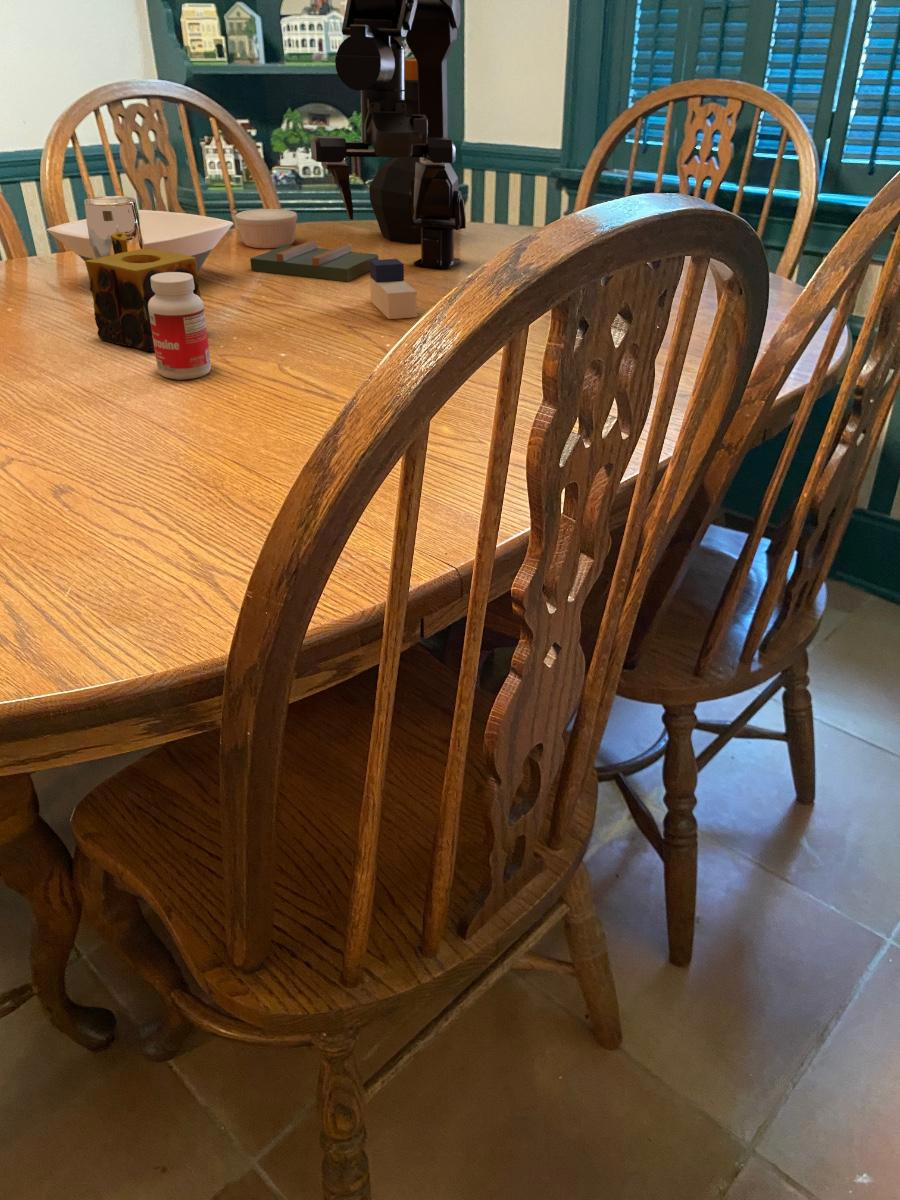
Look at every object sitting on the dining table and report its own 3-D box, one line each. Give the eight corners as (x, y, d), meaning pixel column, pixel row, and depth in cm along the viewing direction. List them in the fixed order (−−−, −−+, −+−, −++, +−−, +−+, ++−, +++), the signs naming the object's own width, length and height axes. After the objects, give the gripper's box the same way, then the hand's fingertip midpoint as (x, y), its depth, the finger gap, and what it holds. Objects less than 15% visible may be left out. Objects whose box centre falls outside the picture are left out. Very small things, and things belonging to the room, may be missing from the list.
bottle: (409, 249, 168) (408, 61, 152) (356, 235, 178) (349, 58, 162) (472, 238, 177) (476, 60, 161) (417, 225, 187) (416, 57, 171)
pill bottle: (148, 372, 108) (132, 276, 102) (190, 360, 112) (177, 267, 106) (179, 384, 104) (164, 286, 98) (222, 372, 108) (211, 276, 102)
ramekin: (228, 247, 166) (225, 217, 164) (252, 236, 176) (250, 207, 173) (285, 251, 165) (283, 220, 162) (307, 239, 174) (305, 210, 171)
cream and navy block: (370, 301, 136) (369, 260, 133) (397, 299, 138) (397, 258, 134) (388, 319, 128) (387, 275, 125) (416, 317, 130) (416, 273, 126)
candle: (150, 354, 113) (136, 271, 108) (96, 340, 118) (80, 260, 112) (209, 334, 121) (199, 256, 115) (155, 322, 125) (143, 246, 120)
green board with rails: (287, 256, 161) (285, 237, 160) (378, 266, 156) (378, 247, 154) (251, 270, 152) (249, 250, 150) (347, 281, 146) (346, 261, 145)
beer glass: (140, 322, 125) (120, 205, 117) (94, 318, 126) (71, 202, 118) (163, 309, 131) (146, 197, 123) (119, 305, 132) (99, 194, 124)
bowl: (44, 287, 140) (31, 229, 136) (149, 259, 157) (141, 207, 153) (152, 306, 132) (142, 245, 127) (251, 275, 149) (245, 220, 144)
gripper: (319, 89, 108) (325, 228, 116) (468, 93, 113) (464, 227, 121) (307, 87, 118) (313, 216, 126) (446, 91, 122) (443, 215, 130)
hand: (384, 219), depth 125 cm, fingers open, 9 cm apart
